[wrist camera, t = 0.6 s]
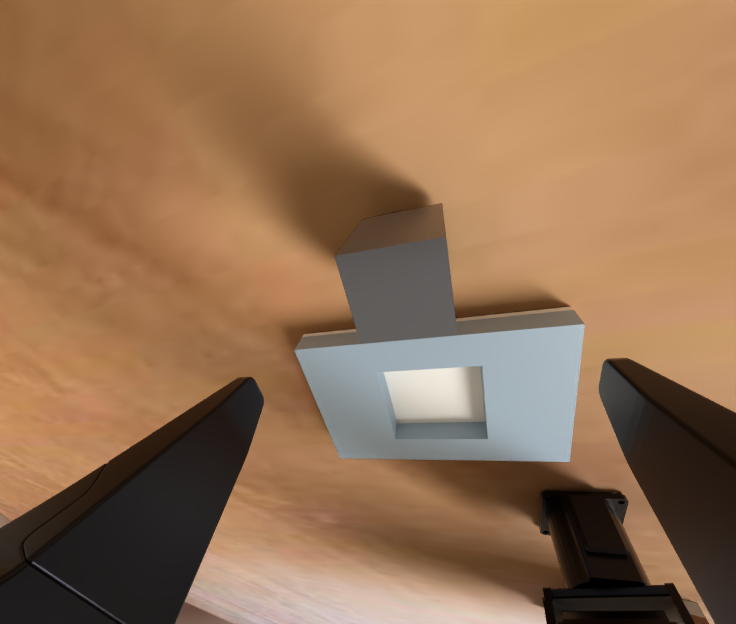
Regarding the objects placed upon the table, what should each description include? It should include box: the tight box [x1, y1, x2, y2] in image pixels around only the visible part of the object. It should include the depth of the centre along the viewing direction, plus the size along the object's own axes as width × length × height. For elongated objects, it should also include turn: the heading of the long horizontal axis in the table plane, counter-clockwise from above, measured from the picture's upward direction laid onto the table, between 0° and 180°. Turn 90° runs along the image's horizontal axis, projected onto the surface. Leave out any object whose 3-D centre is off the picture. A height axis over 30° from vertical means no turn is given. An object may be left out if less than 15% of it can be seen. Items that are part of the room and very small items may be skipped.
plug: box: [335, 203, 457, 344], centre depth 16 cm, size 4×4×7 cm
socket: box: [294, 307, 585, 462], centre depth 23 cm, size 12×18×2 cm, turn 103°
